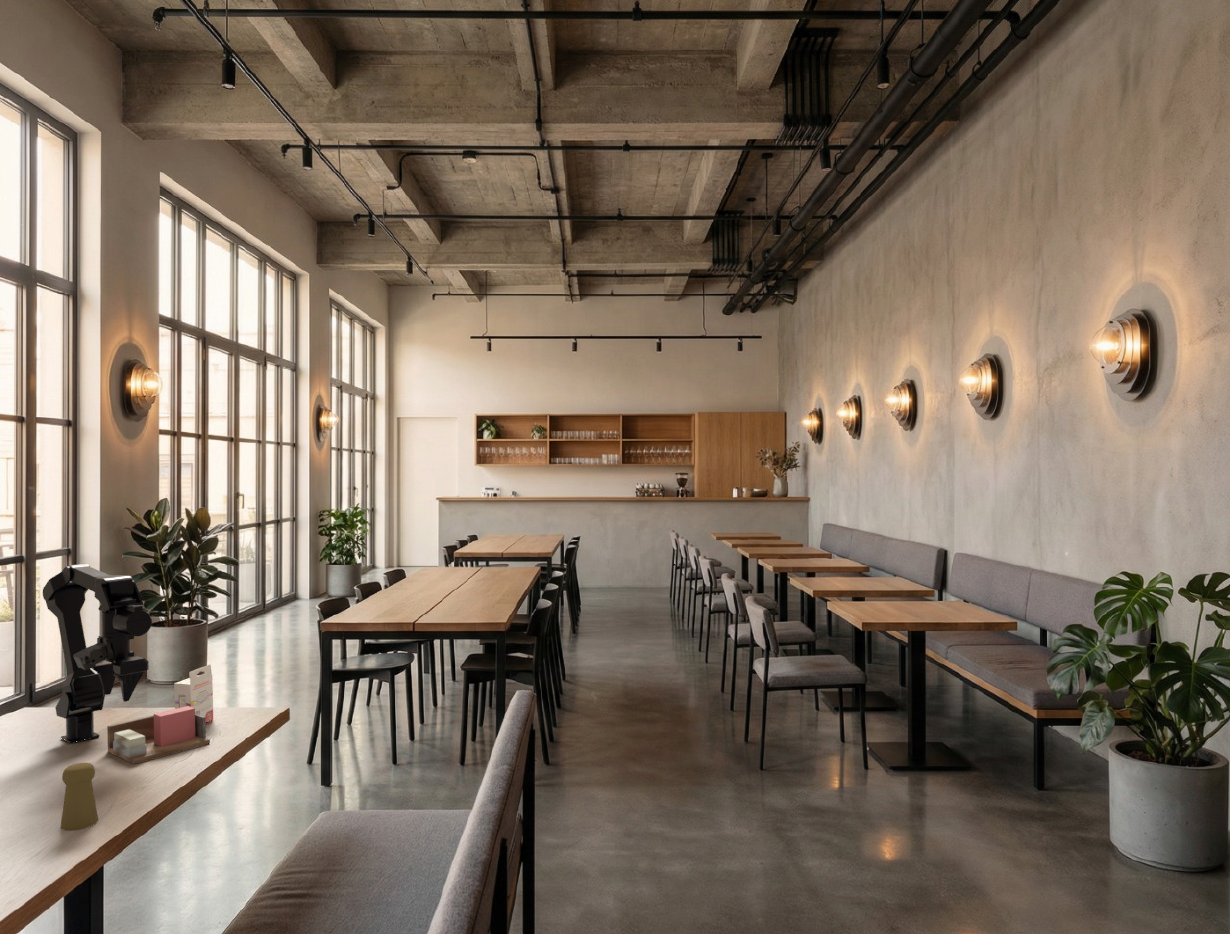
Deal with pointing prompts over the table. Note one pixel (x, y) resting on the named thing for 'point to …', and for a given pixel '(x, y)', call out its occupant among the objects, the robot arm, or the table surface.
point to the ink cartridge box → (196, 692)
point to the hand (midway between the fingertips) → (116, 697)
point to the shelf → (148, 740)
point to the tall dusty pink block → (174, 726)
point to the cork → (78, 797)
